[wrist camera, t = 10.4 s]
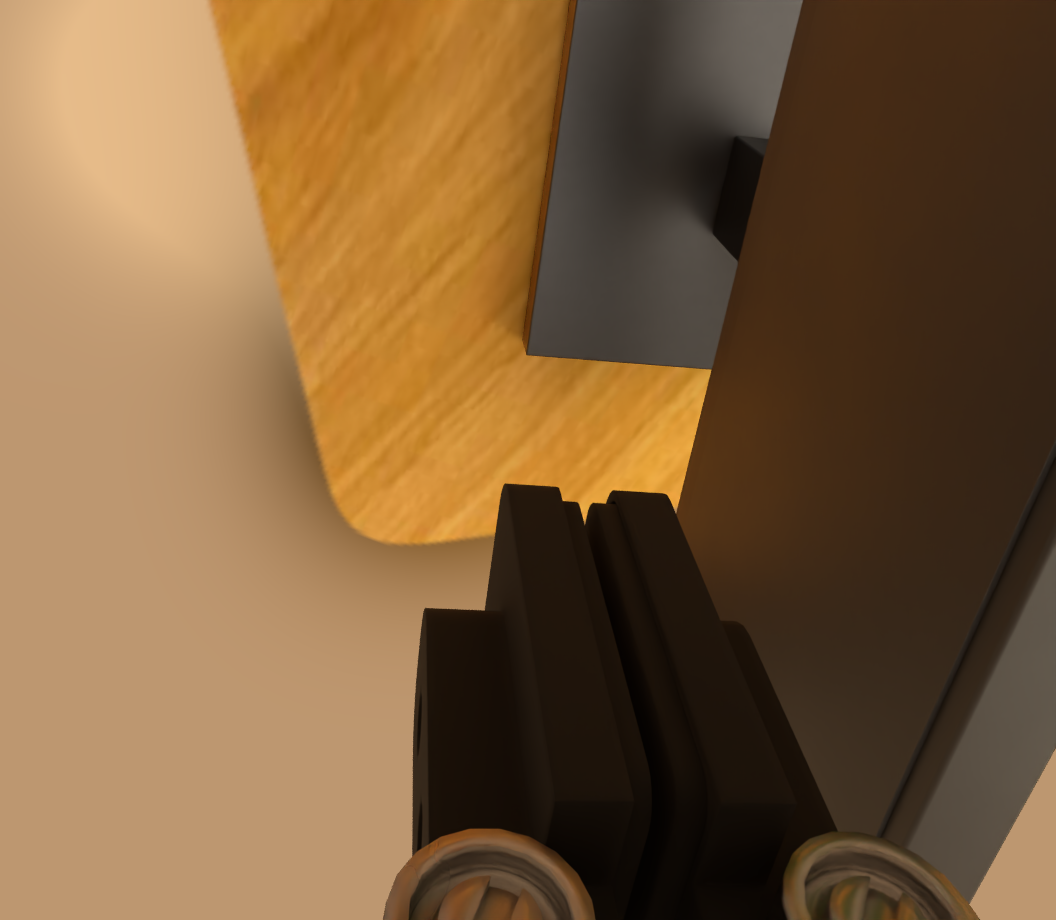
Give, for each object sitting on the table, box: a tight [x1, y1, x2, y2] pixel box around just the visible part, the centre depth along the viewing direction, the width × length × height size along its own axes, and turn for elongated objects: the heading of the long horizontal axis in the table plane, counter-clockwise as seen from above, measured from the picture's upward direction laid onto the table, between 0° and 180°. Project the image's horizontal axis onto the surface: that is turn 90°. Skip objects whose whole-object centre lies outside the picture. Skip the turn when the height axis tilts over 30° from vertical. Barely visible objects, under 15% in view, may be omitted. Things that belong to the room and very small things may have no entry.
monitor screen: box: [676, 0, 1056, 904], centre depth 17 cm, size 2×17×12 cm, turn 173°
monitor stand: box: [523, 0, 803, 370], centre depth 25 cm, size 10×12×12 cm
